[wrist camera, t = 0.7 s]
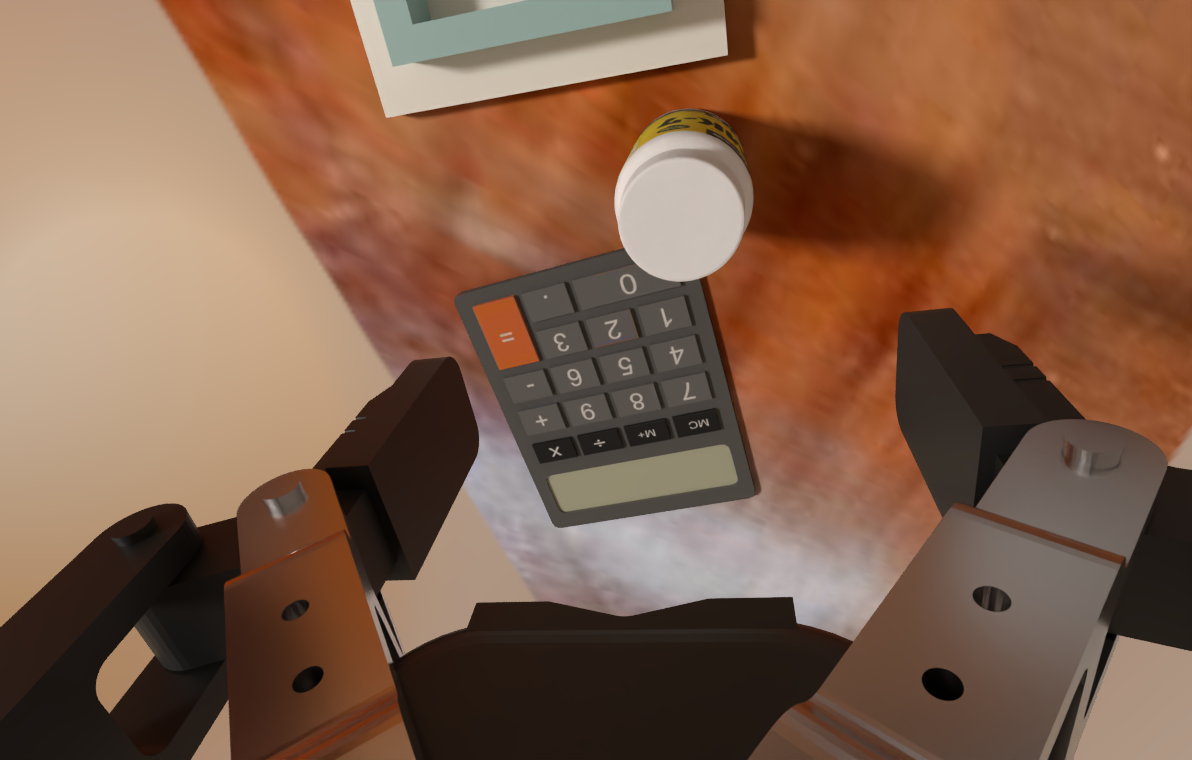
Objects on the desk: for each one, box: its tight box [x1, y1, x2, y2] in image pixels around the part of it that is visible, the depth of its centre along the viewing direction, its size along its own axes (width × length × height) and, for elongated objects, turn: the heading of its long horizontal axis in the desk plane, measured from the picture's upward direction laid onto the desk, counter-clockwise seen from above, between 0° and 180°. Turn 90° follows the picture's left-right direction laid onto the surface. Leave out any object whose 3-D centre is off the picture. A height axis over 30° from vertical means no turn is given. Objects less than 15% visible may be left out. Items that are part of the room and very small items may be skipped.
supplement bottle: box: [615, 109, 754, 282], centre depth 24 cm, size 5×5×8 cm
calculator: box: [454, 248, 755, 528], centre depth 34 cm, size 12×1×15 cm
